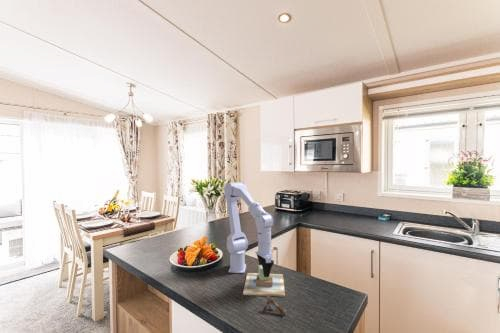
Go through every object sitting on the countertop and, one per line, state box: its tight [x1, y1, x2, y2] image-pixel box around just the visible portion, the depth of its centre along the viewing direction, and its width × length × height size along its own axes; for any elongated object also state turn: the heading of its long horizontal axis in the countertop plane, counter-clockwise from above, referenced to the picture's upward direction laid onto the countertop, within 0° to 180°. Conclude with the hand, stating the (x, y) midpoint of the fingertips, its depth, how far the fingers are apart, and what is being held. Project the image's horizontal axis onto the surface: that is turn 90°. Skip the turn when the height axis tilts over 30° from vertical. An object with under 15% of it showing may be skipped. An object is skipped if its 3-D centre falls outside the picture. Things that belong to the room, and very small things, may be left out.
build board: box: [242, 272, 286, 298], centre depth 106 cm, size 18×17×3 cm
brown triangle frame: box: [265, 296, 287, 317], centre depth 87 cm, size 2×8×4 cm, turn 52°
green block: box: [257, 264, 269, 281], centre depth 106 cm, size 4×4×5 cm
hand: (264, 272), depth 106 cm, fingers open, 7 cm apart
